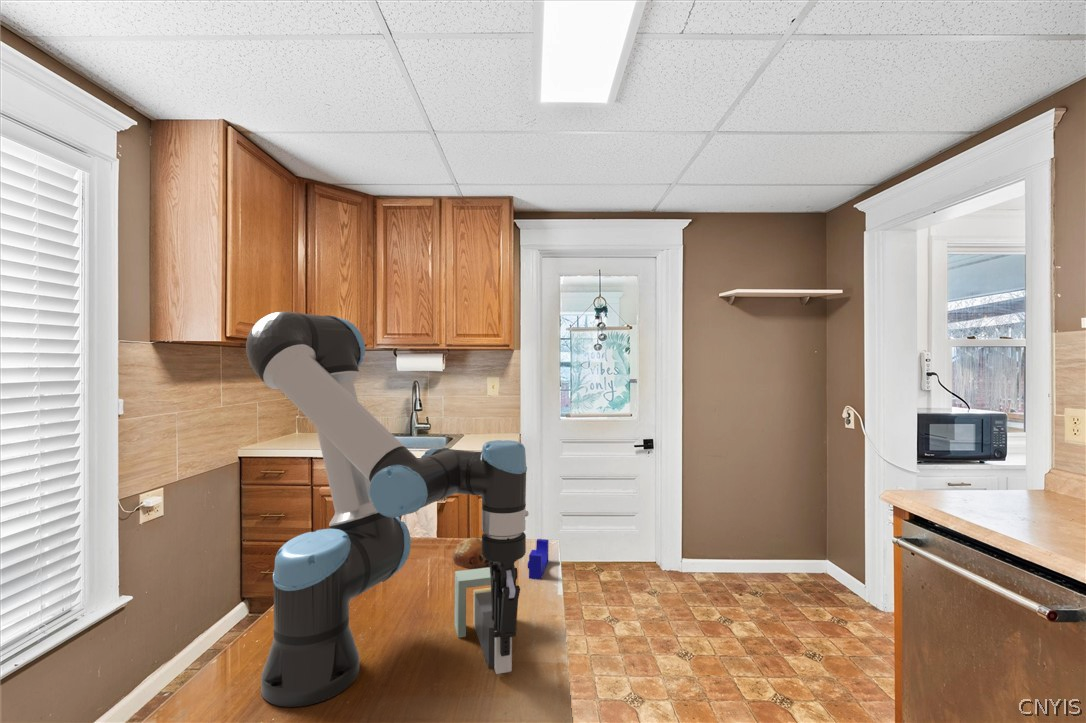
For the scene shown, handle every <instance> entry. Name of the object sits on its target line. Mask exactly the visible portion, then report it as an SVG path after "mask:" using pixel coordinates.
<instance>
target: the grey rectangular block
mask: <svg viewBox="0 0 1086 723" xmlns="http://www.w3.org/2000/svg"><path fill="white" fill-rule="evenodd" d="M472 595H473V596H472V597H473V603H472V604H473V605H472V606H473V608H472V609H473V610H472V611H473V613H472V614H473V615H472V616H473V617H472V624H473V628H474V629H475V632H476V636H477V638H478V642H479V644H480V647H481V651H482V654H483V657H484V659H485V662H486V664H487V668H488V669H492V668H494V659H495V638H494V637H493V632H495V631H497V629H496V630H495V628H494V621H493V620H492V603H491V587H485V588H476V589H473V594H472Z"/></svg>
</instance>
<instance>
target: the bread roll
mask: <svg viewBox="0 0 1086 723" xmlns="http://www.w3.org/2000/svg"><path fill="white" fill-rule="evenodd" d="M452 558H453V559H452V560H453V563H454V564H455V565H456V566H457V567H461V568H465V569H479V568H484V567H486V566H487V565H488V566H489V562H490V560H487V559H485V558H484V557H483V555H482V538H478V537H469V538H467V539H464V540H463V541H460V542H459V543H458V544H457V545H456V547H455V548H454V550H453V554H452Z"/></svg>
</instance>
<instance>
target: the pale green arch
mask: <svg viewBox="0 0 1086 723" xmlns="http://www.w3.org/2000/svg"><path fill="white" fill-rule="evenodd" d="M485 586H491V577H490V566H489V567H480V568H470V569H464V570H456V571H454V625H453V626H454V628H455V629H454V630H455V632H456V636H457V638H458V639H460V638H466V637H467V589H469V588H476V587H485Z"/></svg>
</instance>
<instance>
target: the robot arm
mask: <svg viewBox="0 0 1086 723" xmlns="http://www.w3.org/2000/svg"><path fill="white" fill-rule="evenodd" d="M245 343H246V344H245V352H246V353H245V354H246V357H247V360H248V363H249V365H250V366H251V368H252V370H253V371H254V373H255V374H256V376H258V378H259V379H260V380H261V381H262V382H263V383H264V384H265V385H266V387H267V388H269V389H273V390H279V391H280V392H282V393H283V394H284V395H285V396H286V397H287V398H288V399H289V400H290V401H291V403H292V404H293V405H295V406H296V408H297V409H298V410H299V411H300V412H302V414H303V415H304V416H305V417H306V418H307V419H308V420H309V421H310V422H311V423H312V424H313V425H314V426H315V428H316V432H317V436H318V441H319V446H320V449H321V450H320V451H321V454H322V459H323V464H324V468H325V473H326V477H327V482H328V486H329V491H330V495H331V498H332V499H331V500H332V504H333V508H334V509H333V510H334V515H333V517H332V518H331V520H330V521H329V523H328V526H329V528H324V529H323V528H321V529H316V531H308V532H305V533H301V534H299V535H297V536H294V537H293V538H291V539H289V540H288V541H286V542H285V543H284V544H283V545H281V547H280V548H279V549H278V551H277V553H276V555H275V557H274V558H275V559H274V569H273V573H272V583H273V638H272V639H273V640H272V644H271V647H270V649H269V652H268V655H267V658H266V661H265V663H264V666H263V669H262V673H261V678H260V694H261V696H262V697H263V699H264V700H265V701H266V702H267V703H270V704H271V705H274V706H276V707H277V706H278V707H283V708H284V707H285V708H297V707H305V706H311V705H314V704H315V705H316V704H317V703H320V702H323V701H327V700H329V699H331V698H333V697H335V696H337V695H339V694H341V693H342V692H344V691H345V690H347V689H348V688H349V687H350V686H351V685H352V684H353V683H354V682H355V680H356V679H357V678H358V676H359V672H360V653H359V650H358V647H357V644H356V641H355V639H354V636H353V633H352V629H351V628H350V616H349V615H350V601H351V600H353V599H354V598H356V597H358V596H360V595H361V594H363V593H364V592H366V591H368V590H370V589H372V588H374V587H375V586H377V585H378V584H380V583H383V582H385V581H387V580H389V579H391V577H393V575H395V574H396V573H397V572H399V571H400V570H402V568H403V567H404V566H405V564H406V562H407V561H408V559H409V556H410V554H411V547H412V544H411V543H412V540H411V539H412V538H411V534H410V533H411V532H410V530H409V528H408V526H407V524H406V522H404V521H402V520H401V518H400V517H402V516H403V517H404V516H406V515H411V514H414V513H415V512H418V511H419V510H420V509H423V508H424V507H427V506H428V505H431V504H432V503H436V502H439V501H441V500H444V499H446V498H448V497H451V496H452V495H455V494H457V495H458V494H461V495H471V496H481V531H482V532H483V533H482V534H481V540H482V555H483V557H484V558H485V559H487V560H490V562H489V564H488V566H489V567H490V577H491V585H490V588H491V603H492V620H493V621H494V628H495V630H496V629H497V631H495V632H493V637H494V638H495V659H494V667H493V668H494V672H495V675H499V674H500V675H501V674H505V673H511V672H512V670H513V668H512V667H513V664H512V663H513V661H512V660H513V659H512V658H513V638H514V637H516V634H517V632H516V631H517V619H518V604H519V597H520V593H521V587H520V585H519V584H518V585H517V579H518V567H516V566H515V563H516V562H517V561H518V560H521V559H523V557H525V555H526V552H527V551H526V549H527V546H526V545H527V541H526V540H527V536H526V535H527V534H526V533H525V531H526V524H527V523H526V522H527V520H526V518H527V517H528V516H529V511H528V510H526V507H527V504H526V502H527V499H526V496H527V470H528V467H527V457H526V456H527V455H526V454H527V453H526V446H524V444H523V443H522V442H520V441H516V440H508V439H507V440H501V439H500V440H499V439H498V440H489V441H486V442H485V443H484V444H483V445H482V449H481V451H474V450H466V449H464V450H463V449H453V448H449V447H442V448H430V449H427V450H426V451H425V452H424V454H423V455H421V457H420V458H418V457H417V456H415V455H414V453H412V452H411V451H410V450H409V449H408V448H407V447H406V446H405V445H404V444H403V443H402V442H401V441H400V440H399V439H398V438H397V437H396V436H394V434H392V433H391V431H390V430H388V429H387V428H386V427H385V425H383V424H382V423H381V422H380V421H379V420H378V419H377V418H376V417H375V416H374V415H373V414H372V413H371V412H370V411H369V410H368V409H367V408H366V407H364V405H363V404H362V403H360V402H359V400H358V397H357V396H358V395H357V391H356V387H355V382H356V381H357V380H358V378H359V377H360V369H359V367H360V366H361V364H362V363H363V361H364V359H363V357H364V356H365V354H366V346H365V345H366V344H365V339H364V338H363V334H362V333H361V331H360V329H358V327H357V326H356V325H355V324H354V323H352V322H350V321H349V320H348V319H345V318H340V317H338V316H334V315H329V314H328V315H326V314H324V315H318V314H309V313H303V312H302V313H301V312H295V311H277V312H271V313H270V314H267V315H265V316H264V317H262V318H260V319H258V321H256V323H254V325H253V326H252V327H251V328H250V331H249V333H248V335H247V339H246V342H245Z"/></svg>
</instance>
